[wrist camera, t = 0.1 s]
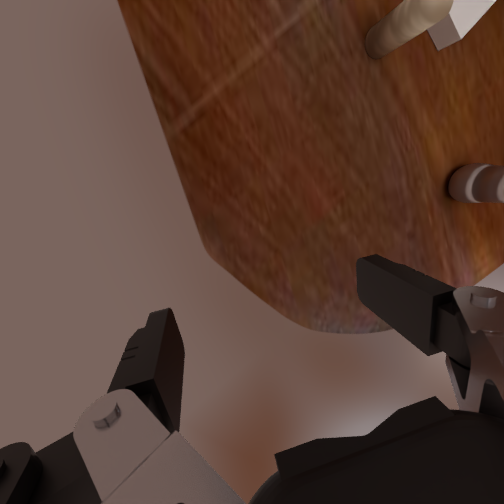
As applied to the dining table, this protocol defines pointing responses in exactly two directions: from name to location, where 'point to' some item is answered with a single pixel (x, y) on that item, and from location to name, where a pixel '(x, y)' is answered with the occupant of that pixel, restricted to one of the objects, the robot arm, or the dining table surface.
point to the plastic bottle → (478, 183)
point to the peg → (404, 25)
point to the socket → (458, 21)
